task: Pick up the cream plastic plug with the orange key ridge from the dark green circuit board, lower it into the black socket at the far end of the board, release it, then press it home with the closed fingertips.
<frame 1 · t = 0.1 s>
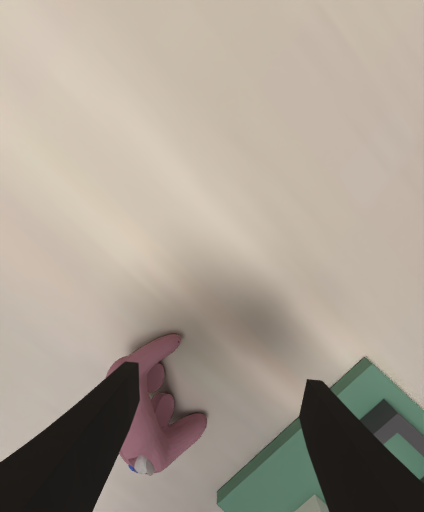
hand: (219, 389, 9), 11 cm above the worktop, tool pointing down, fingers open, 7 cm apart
pink toy figure: (167, 380, 20), on the worktop
circuit board: (332, 468, 20), on the worktop
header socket: (382, 446, 19), resting on circuit board
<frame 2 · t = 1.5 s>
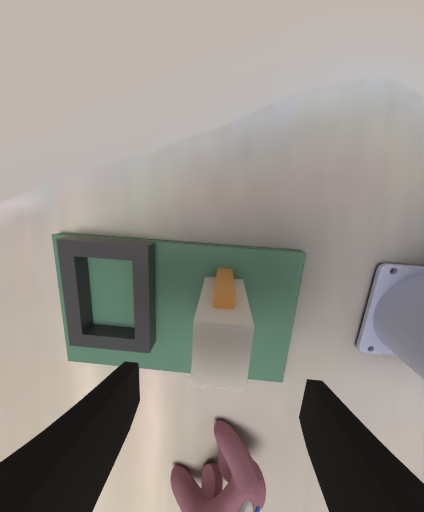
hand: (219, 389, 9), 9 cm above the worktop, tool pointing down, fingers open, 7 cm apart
pink toy figure: (215, 450, 23), on the worktop
plug: (222, 300, 17), point 1 cm above the worktop, touching circuit board
circuit board: (176, 307, 18), on the worktop
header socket: (121, 287, 18), resting on circuit board
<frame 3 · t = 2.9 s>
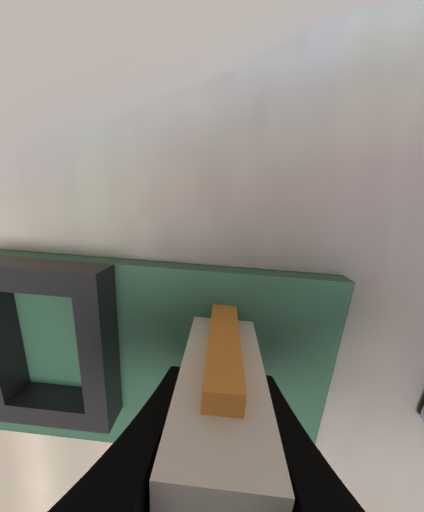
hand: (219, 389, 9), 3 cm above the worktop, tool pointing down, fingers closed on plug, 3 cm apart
plug: (220, 352, 11), point 1 cm above the worktop, touching circuit board, gripper
circuit board: (153, 355, 13), on the worktop
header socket: (72, 326, 12), resting on circuit board
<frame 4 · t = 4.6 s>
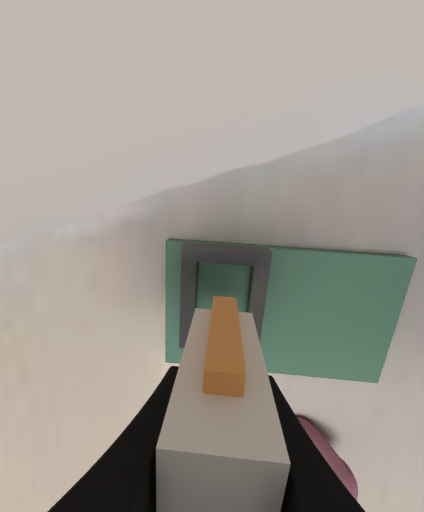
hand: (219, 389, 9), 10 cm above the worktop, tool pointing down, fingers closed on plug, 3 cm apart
pink toy figure: (290, 447, 23), on the worktop
plug: (221, 343, 11), point 8 cm above the worktop, touching gripper
circuit board: (275, 310, 19), on the worktop
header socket: (222, 290, 19), resting on circuit board
when the fingers open (4 cm above the worktop, at t = 6.5 s): plug stays where it is, resting on circuit board.
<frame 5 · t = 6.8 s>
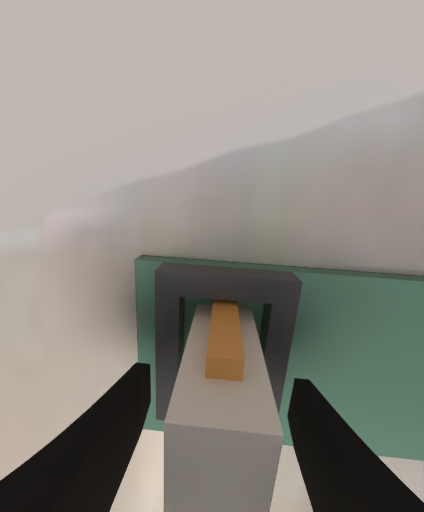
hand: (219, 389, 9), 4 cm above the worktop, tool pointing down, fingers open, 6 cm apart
plug: (221, 336, 12), point 1 cm above the worktop, touching circuit board
circuit board: (297, 357, 13), on the worktop
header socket: (221, 330, 13), resting on circuit board
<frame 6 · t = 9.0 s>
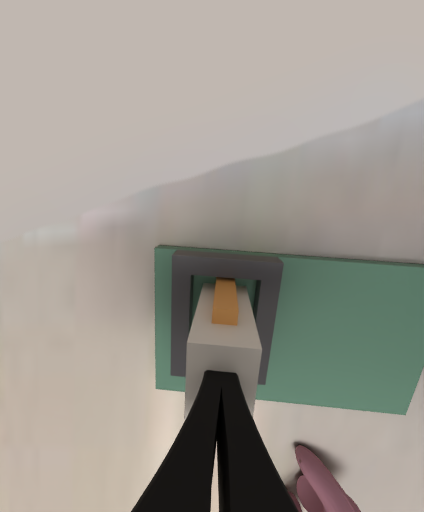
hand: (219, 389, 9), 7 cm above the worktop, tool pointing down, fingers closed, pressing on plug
pink toy figure: (289, 477, 20), on the worktop
plug: (222, 310, 15), point 1 cm above the worktop, touching circuit board, gripper
circuit board: (284, 329, 16), on the worktop
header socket: (222, 306, 16), resting on circuit board
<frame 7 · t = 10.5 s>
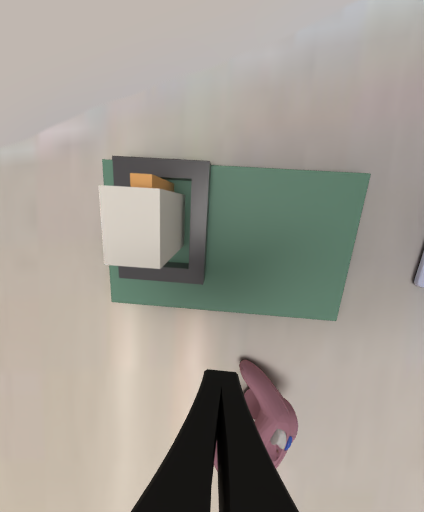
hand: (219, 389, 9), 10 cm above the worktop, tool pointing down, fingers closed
pink toy figure: (239, 396, 22), on the worktop
plug: (166, 219, 17), point 1 cm above the worktop, touching circuit board
circuit board: (226, 242, 18), on the worktop
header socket: (169, 221, 18), resting on circuit board
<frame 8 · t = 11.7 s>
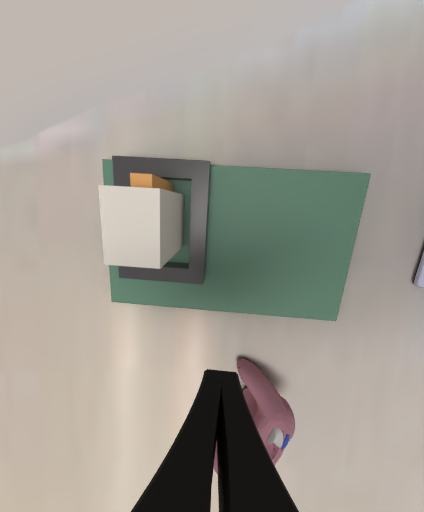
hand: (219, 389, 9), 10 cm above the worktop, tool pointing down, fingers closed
pink toy figure: (237, 395, 22), on the worktop
plug: (166, 219, 17), point 1 cm above the worktop, touching circuit board
circuit board: (226, 242, 18), on the worktop
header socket: (169, 221, 18), resting on circuit board
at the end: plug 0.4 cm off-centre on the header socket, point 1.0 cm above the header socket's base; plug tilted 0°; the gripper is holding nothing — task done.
